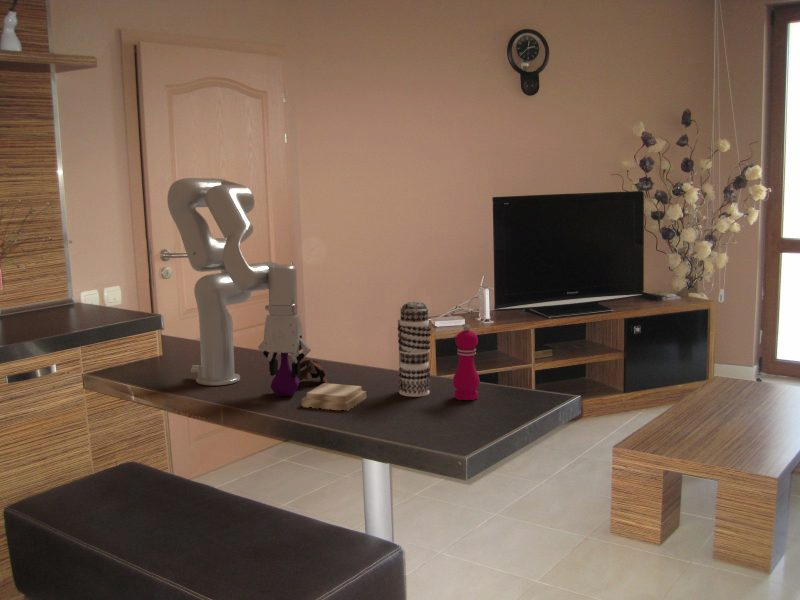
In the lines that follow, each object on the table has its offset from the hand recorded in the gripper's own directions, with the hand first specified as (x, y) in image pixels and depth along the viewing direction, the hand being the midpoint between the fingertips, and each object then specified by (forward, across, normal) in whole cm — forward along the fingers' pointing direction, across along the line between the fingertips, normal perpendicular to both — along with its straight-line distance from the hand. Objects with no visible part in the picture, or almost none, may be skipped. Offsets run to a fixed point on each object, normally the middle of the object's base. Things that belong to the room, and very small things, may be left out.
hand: (284, 374), depth 213 cm
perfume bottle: (+6, 0, 0) cm, 6 cm away
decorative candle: (+6, +33, +13) cm, 36 cm away
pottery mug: (+6, +1, +14) cm, 15 cm away
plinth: (+6, +16, -3) cm, 17 cm away
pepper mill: (+6, +48, +12) cm, 50 cm away
